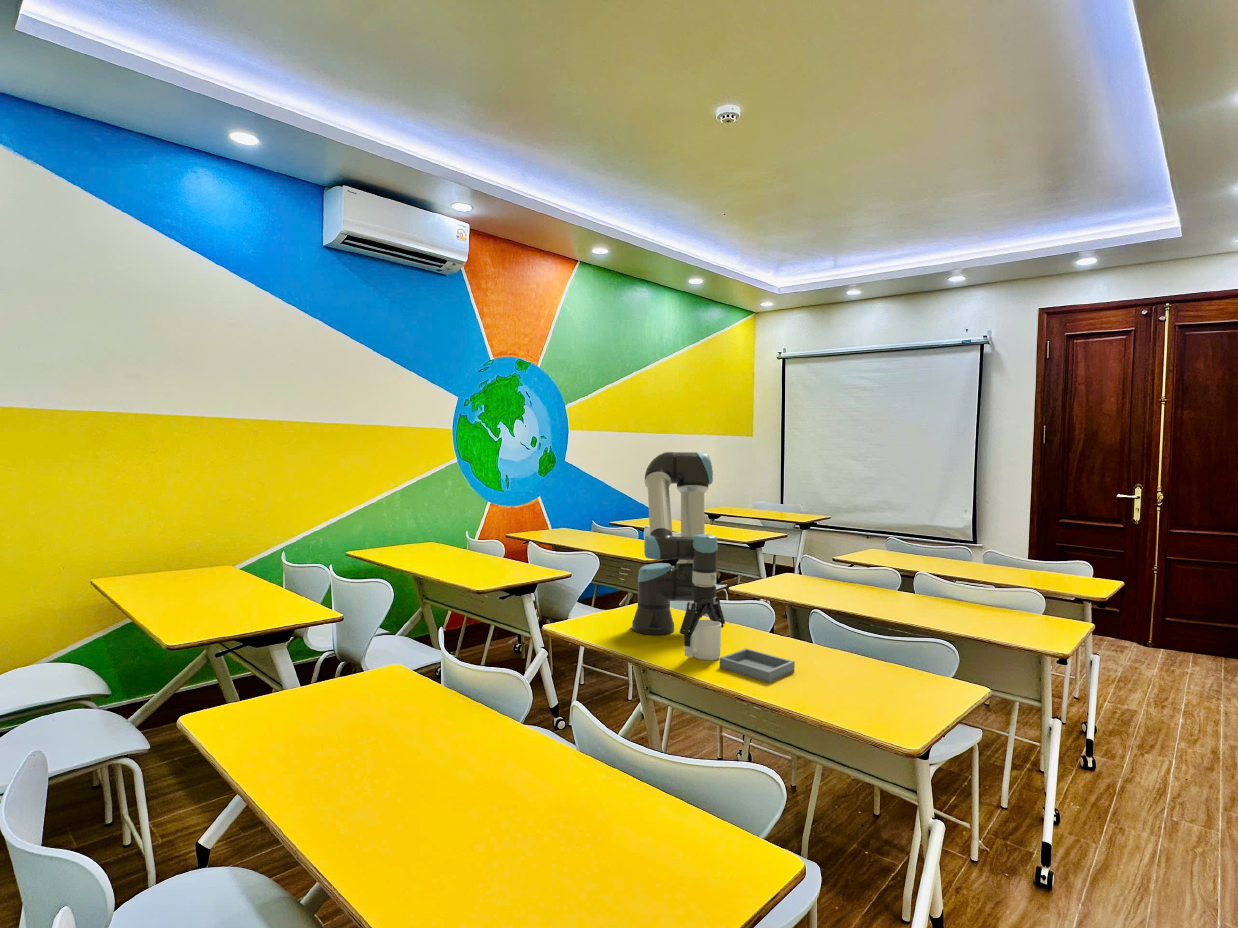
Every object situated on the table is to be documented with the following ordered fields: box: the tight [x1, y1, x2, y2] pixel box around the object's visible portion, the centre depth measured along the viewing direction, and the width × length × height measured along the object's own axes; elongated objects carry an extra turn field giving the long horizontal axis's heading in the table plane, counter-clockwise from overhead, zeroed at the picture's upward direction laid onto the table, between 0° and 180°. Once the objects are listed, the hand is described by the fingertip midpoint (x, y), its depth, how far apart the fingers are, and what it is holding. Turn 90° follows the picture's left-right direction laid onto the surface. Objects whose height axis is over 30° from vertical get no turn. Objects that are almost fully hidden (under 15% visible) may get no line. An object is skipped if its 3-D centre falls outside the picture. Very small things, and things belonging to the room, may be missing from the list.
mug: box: [692, 618, 722, 662], centre depth 210 cm, size 9×12×11 cm
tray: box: [719, 648, 796, 684], centre depth 199 cm, size 17×14×3 cm
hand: (702, 651), depth 210 cm, fingers open, 13 cm apart
